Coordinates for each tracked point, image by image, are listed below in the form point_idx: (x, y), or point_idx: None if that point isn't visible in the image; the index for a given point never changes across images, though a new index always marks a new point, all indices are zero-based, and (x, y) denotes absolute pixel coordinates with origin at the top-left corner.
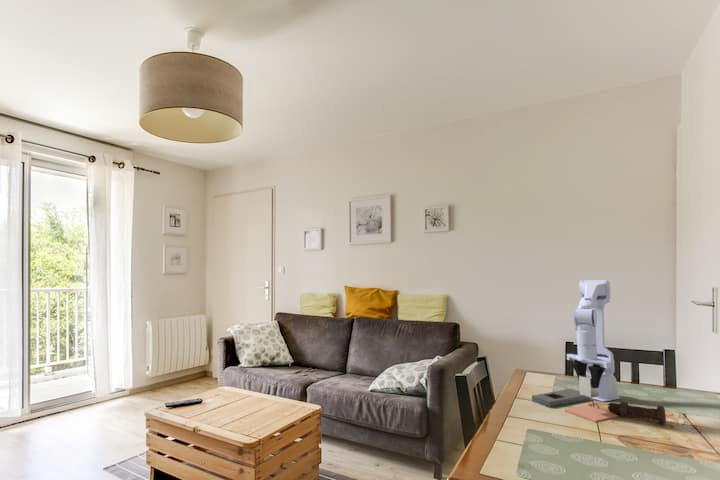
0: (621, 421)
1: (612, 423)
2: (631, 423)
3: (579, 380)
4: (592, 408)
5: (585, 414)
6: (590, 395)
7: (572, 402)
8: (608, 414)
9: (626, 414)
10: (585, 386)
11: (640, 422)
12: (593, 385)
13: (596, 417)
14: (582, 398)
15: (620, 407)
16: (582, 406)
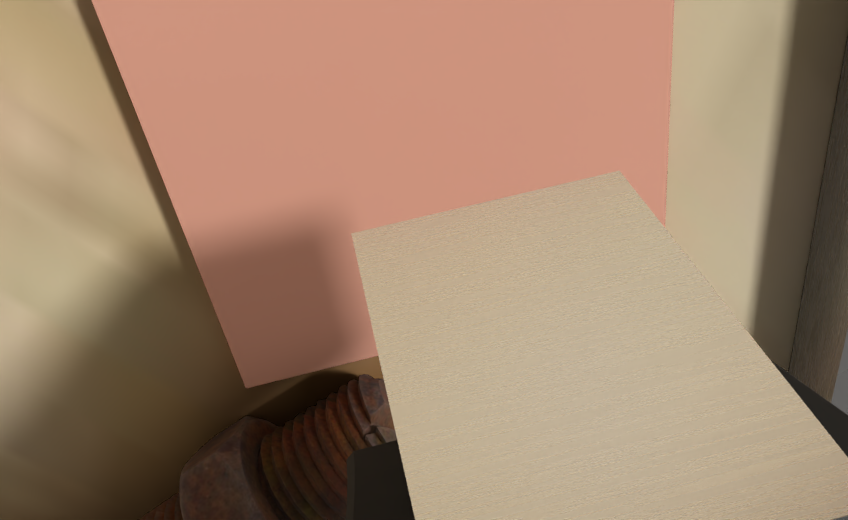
0: (84, 316)
1: (8, 160)
2: (3, 375)
3: (783, 388)
4: None
5: (376, 4)
6: (366, 254)
7: (828, 194)
8: (297, 309)
9: (189, 461)
10: (537, 344)
11: (36, 471)
12: (363, 495)
13: (212, 74)
14: (815, 361)
15: (238, 491)
16: (654, 204)
